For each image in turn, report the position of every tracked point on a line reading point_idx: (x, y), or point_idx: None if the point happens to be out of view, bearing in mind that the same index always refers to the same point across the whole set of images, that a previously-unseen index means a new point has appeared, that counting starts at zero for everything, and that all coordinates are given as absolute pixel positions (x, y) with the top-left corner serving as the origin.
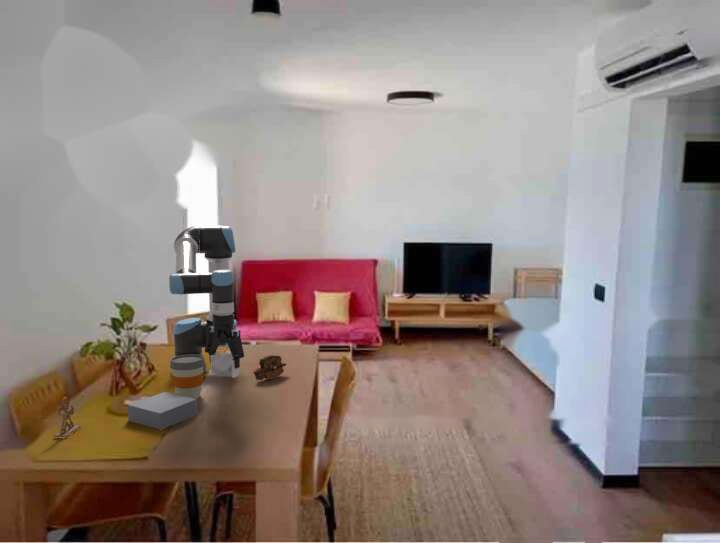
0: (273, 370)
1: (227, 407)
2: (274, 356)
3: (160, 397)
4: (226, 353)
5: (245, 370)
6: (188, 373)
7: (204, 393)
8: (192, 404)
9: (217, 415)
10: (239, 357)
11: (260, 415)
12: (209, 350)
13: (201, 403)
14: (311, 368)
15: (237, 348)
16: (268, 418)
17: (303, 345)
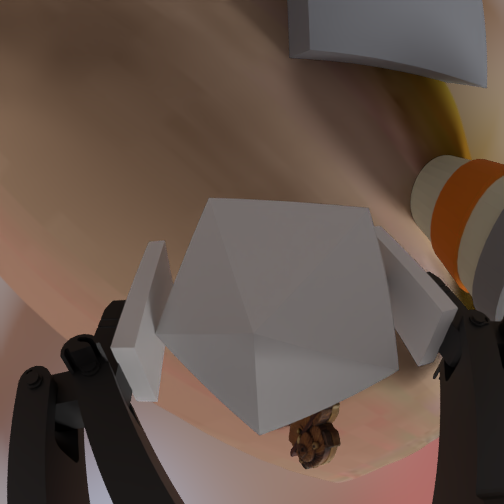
0: (301, 430)
1: (241, 187)
2: (312, 464)
3: (456, 19)
4: (309, 412)
5: (395, 399)
6: (494, 201)
7: (415, 246)
8: (303, 24)
9: (204, 96)
10: (23, 377)
11: (70, 205)
12: (494, 341)
13: (367, 164)
14: (266, 461)
15: (13, 473)
16: (33, 203)
17: (354, 478)
